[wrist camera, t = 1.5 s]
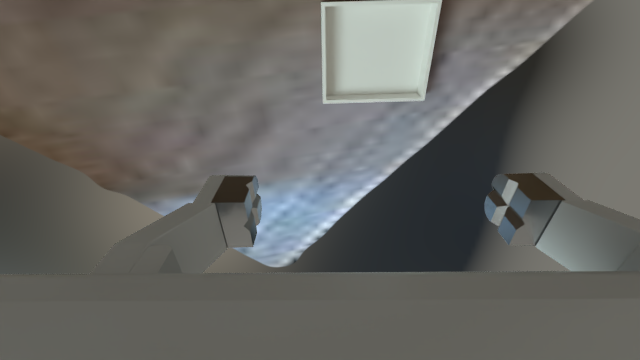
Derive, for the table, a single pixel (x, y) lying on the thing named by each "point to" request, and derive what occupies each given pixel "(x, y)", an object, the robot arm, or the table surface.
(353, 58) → the tray
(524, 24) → the table surface
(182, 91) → the table surface
